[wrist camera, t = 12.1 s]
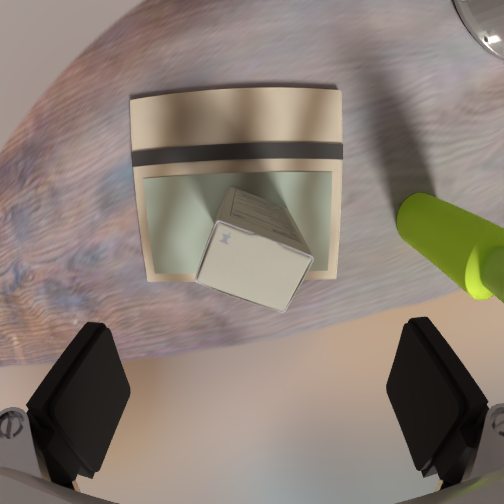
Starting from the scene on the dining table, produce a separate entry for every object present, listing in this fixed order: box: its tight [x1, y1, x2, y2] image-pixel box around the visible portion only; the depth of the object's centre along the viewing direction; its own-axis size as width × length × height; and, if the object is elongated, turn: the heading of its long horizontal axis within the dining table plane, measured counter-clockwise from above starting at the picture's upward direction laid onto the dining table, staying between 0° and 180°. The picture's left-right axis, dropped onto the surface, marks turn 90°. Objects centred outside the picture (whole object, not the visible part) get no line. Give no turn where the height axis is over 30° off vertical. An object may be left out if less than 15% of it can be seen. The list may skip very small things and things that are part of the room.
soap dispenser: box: [397, 193, 504, 303], centre depth 21 cm, size 6×7×20 cm
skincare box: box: [195, 187, 314, 313], centre depth 24 cm, size 6×4×12 cm
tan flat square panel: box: [130, 88, 343, 282], centre depth 29 cm, size 20×19×1 cm
